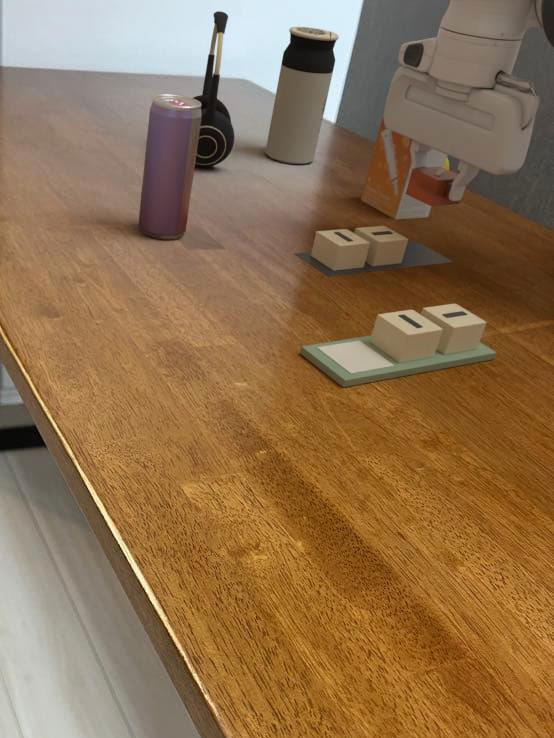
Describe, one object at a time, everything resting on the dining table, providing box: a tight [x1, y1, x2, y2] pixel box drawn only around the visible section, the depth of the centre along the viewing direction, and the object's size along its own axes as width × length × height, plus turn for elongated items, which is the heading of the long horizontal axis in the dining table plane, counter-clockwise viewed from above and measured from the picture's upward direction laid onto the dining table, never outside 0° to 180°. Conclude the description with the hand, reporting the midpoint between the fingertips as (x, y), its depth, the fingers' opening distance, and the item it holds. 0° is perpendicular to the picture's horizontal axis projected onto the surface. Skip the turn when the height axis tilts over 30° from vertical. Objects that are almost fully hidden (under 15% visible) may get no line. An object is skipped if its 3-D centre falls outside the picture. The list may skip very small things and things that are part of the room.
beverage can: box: [137, 93, 202, 241], centre depth 102 cm, size 6×6×15 cm
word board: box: [299, 302, 497, 388], centre depth 85 cm, size 20×7×4 cm, turn 118°
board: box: [293, 225, 454, 278], centre depth 105 cm, size 20×7×4 cm, turn 118°
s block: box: [406, 167, 461, 207], centre depth 103 cm, size 5×5×3 cm
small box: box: [360, 117, 448, 220], centre depth 118 cm, size 8×6×13 cm
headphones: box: [192, 10, 235, 168], centre depth 126 cm, size 9×15×20 cm, turn 0°
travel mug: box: [264, 26, 340, 165], centre depth 134 cm, size 8×8×18 cm
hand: (434, 190), depth 103 cm, fingers closed on s block, 4 cm apart
